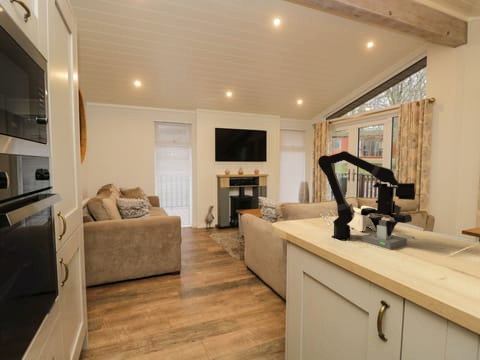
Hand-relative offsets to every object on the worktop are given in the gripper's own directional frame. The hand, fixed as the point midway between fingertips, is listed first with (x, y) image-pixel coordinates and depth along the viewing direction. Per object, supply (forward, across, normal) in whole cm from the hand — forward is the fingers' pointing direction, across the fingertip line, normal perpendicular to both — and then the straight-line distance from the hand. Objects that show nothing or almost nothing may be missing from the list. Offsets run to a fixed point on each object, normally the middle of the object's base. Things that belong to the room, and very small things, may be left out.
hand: (384, 234), depth 108 cm
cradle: (+4, 0, -13) cm, 14 cm away
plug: (+2, 0, 0) cm, 2 cm away
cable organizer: (+4, +19, -13) cm, 23 cm away
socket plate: (+4, 0, 0) cm, 4 cm away
